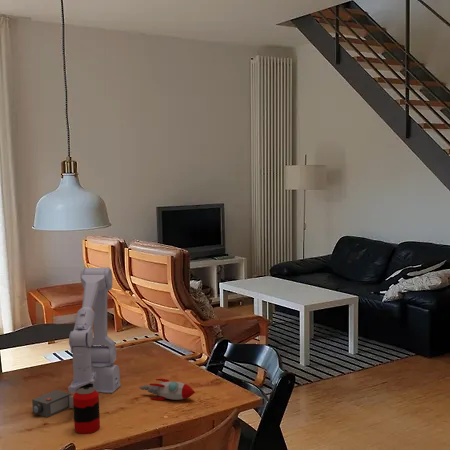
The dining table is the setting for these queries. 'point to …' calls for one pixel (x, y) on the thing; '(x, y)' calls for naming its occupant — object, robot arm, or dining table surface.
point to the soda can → (86, 410)
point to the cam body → (51, 403)
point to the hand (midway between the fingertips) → (83, 406)
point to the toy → (169, 390)
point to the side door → (71, 402)
